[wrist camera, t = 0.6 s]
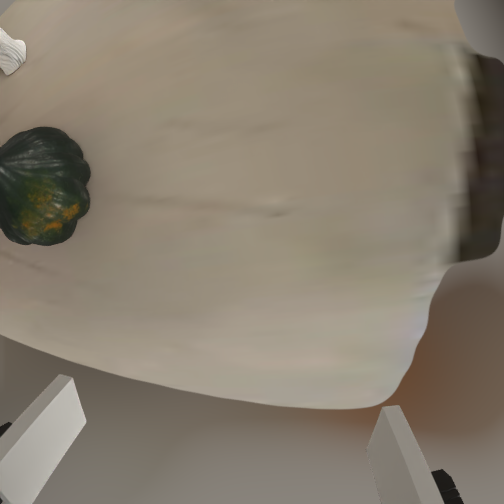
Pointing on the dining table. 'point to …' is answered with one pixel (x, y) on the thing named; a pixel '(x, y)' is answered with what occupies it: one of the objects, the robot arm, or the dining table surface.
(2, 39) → the shell sculpture
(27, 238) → the squash
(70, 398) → the robot arm
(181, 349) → the dining table surface
